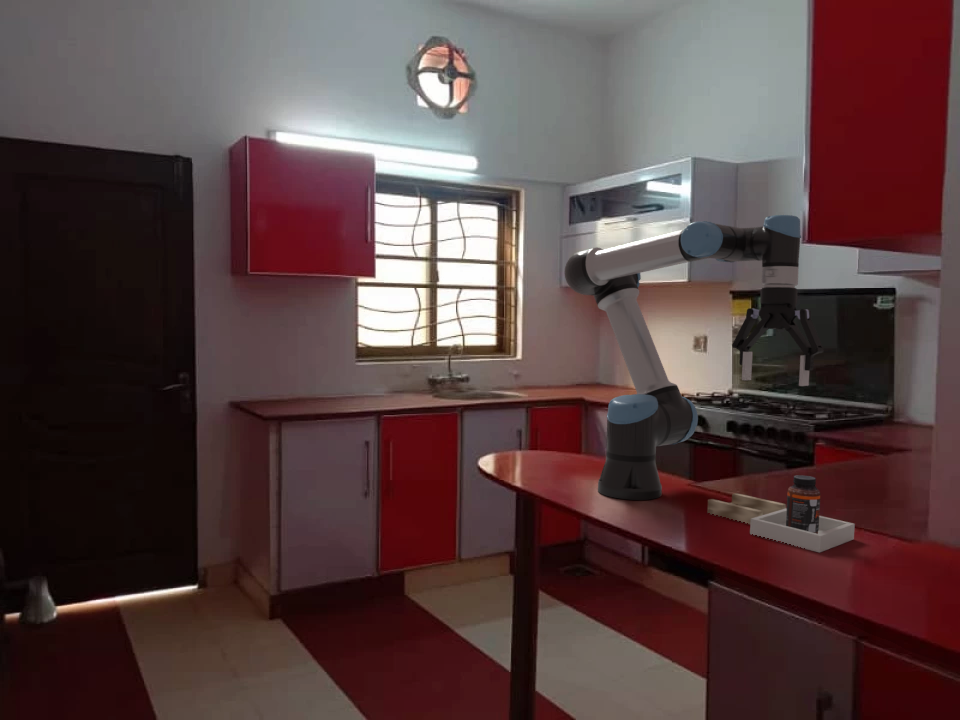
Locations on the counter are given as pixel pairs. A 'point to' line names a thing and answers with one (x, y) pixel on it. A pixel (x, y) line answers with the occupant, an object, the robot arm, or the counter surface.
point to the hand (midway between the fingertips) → (774, 383)
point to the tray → (802, 531)
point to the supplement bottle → (803, 504)
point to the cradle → (743, 507)
